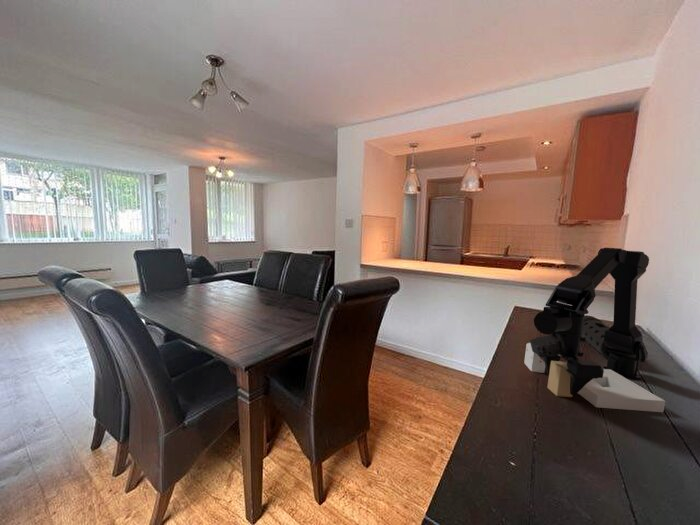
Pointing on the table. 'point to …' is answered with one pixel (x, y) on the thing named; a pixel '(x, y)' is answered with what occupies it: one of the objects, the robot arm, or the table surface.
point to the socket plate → (620, 394)
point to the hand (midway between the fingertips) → (560, 384)
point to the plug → (559, 379)
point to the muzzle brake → (595, 334)
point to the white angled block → (533, 360)
